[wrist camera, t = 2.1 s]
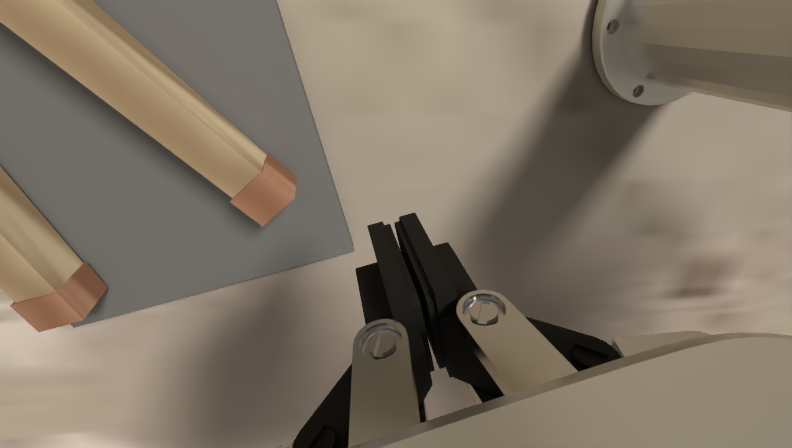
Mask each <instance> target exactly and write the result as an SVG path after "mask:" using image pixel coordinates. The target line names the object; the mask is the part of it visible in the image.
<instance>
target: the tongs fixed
mask: <svg viewBox="0 0 792 448" xmlns="http://www.w3.org/2000/svg"><path fill="white" fill-rule="evenodd" d="M0 288H1V289H2V290H3V291H4V292H5V293H6V294H7V295H8V296H9V297H10V298H11V299H12V300H14V301H15V302H14V303H13V304H11V305H10V306H11V307H12V308H13V309H14V310H15V311H16V312H17V313H18V314H20V315H21V316H22V317H23V318H24V319H25V320H26V321H27V322H28V323H29V324H30V325H32V326H33V327H34V328H35V329H36V330H37V331H38V332H41V331H45V330H49V329H52V328H56V327H60V326H63V325H67V324H71V323H75V322H78V321H82V320H84V319H85V317H86V316H87V315H88V313H89V312H90V311H91V309H92V308H93V307H94V305H95V304H96V303H97V301H98V300H99V299H100V298H101V296H102V295H103V294H104V292H105V291H106V290H107V288H108V287H107V286H106V285H105V284H104V282H103V281H102V280H101V279H100V278H99V277H98V275H97V274H96V273H95V272H94V271H93V269H92V268H91V267H90V266H89V265H88V264H87V262H85V263H83V262H82V261H81V260H80V258H79V257H78V256H77V255H76V254H75V253H74V251H73V250H72V249H71V248H70V247H69V246H68V244H67V243H66V242H65V241H64V240H63V239H62V237H61V236H60V235H59V234H58V233H57V232H56V230H55V229H54V228H53V227H52V226H51V225H50V223H49V222H48V221H47V220H46V219H45V218H44V216H43V215H42V214H41V213H40V212H39V211H38V209H37V208H36V207H35V206H34V205H33V204H32V202H31V201H30V200H29V199H28V198H27V197H26V195H25V194H24V193H23V192H22V191H21V190H20V188H19V187H18V186H17V185H16V184H15V183H14V181H13V180H12V179H11V178H10V177H9V176H8V174H7V173H6V172H5V171H4V170H3V169H2V167H1V166H0Z"/></svg>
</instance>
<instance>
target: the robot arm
mask: <svg viewBox="0 0 792 448" xmlns="http://www.w3.org/2000/svg"><path fill="white" fill-rule="evenodd" d="M592 50H593V57H594V61H595V66H596V69H597V72H598V74H599V76H600V78H601V80H602V82H603V83H604V84H605V86H606V87H607V88H608V89H609V91H610V92H612V93H613V94H615V95H616V96H618V97H619V98H621V99H624V100H627V101H629V102H632V103H637V104H642V105H661V104H664V103H668V102H672V101H675V100H677V99H680V98H682V97H684V96H686V95H689V94H690V93H692V92H697V93H702V94H707V95H712V96H716V97H721V98H726V99H731V100H736V101H740V102H745V103H750V104H755V105H759V106H764V107H769V108H774V109H779V110H783V111H788V112H792V0H599V1H598V4H597V8H596V11H595V16H594V24H593V31H592ZM399 219H400V221H398V222H395V228H396V233H397V237H398V241H399V246H400V248H399V246H398V243H397V241H396V238H395V236H394V233H393V231H392V228H391V225H390V224H387V225H384V224H383V222H379V223H375V224H372V225H368V230H369V233H370V237H371V241H372V244H373V248H374V251H375V255H376V259H377V262H376V263H373V264H370V265H366V266H363V267H359V268H356V275H357V280H358V285H359V291H360V296H361V302H362V307H363V312H364V318H365V323H366V325H365V326H364V327H363V328H362V329H361V330H360V331H359V332H358V334H357V335H356V337H355V339H354V344H353V358H352V364H351V365H350V367H349V368H348V369H347V371H346V372H345V373H344V375H343V376H342V377H341V378H340V380H339V381H338V382H337V384H336V385H335V386H334V388H333V389H332V390H331V391H330V393H329V394H328V395H327V397H326V398H325V399H324V401H323V402H322V403H321V404H320V406H319V407H318V408H317V410H316V411H315V412H314V414H313V415H312V416H311V417H310V419H309V420H308V421H307V423H306V424H305V425H304V427H303V428H302V429H301V431H300V432H299V434H298V435H297V437H296V439H295V440H294V443H293V444H291V445H289V446H287V447H286V448H792V336H789V335H781V334H771V333H729V334H717V335H710V334H707V333H703V332H700V331H682V332H671V333H661V334H650V335H640V336H629V337H619V338H613V341H612V342H611V343H606V342H605V341H603V340H600V339H598V338H596V337H593V336H589V335H586V334H583V333H579V332H576V331H572V330H569V329H566V328H562V327H559V326H555V325H552V324H549V323H545V322H542V321H538V320H535V319H532V318H528V317H525V316H524V315H523V314H522V313H521V312H520V311H519V310H518V309H517V308H516V307H515V306H514V305H513V304H512V303H511V302H510V301H509V300H508V299H507V298H506V297H504V296H503V295H502V294H500V293H498V292H495V291H491V290H477V288H476V287H475V285H474V283H473V282H472V280H471V278H470V277H469V275H468V274H467V272H466V270H465V269H464V267H463V266H462V264H461V262H460V261H459V259H458V257H457V256H456V254H455V253H454V251H453V249H452V248H451V246H450V245H449V243H447V242H446V243H443V244H439V245H436V246H433V245H432V243H431V241H430V239H429V238H428V236H427V234H426V232H425V230H424V228H423V227H422V225H421V223H420V221H419V219H418V217H417V215H416V214H415V213H411V214H408V215H404V216H401V217H399ZM400 250H401V251H400ZM428 339H429V342H430V345H431V347H432V350H433V353H434V355H435V358H436V361H437V364H438V366H439V368H440V369H441V368H444V367H446V369H447V371H448V374H449V377H453V376H454V378H456V379H459V380H461V381H463V382H466V385H467V387H468V390H469V392H470V393H471V395H472V397H473V398H474V400H475V401H476V403H477V405H475V406H472V407H469V408H465V409H462V410H459V411H456V412H453V413H450V414H447V415H444V416H441V417H438V418H435V419H432V420H429V421H428V419H427V412H426V405H425V401H424V399H425V397H426V395H427V393H428V392H429V390H430V388H431V386H432V379H431V375H430V372H431V371H434V366H433V361H432V356H431V352H430V347H429V342H428ZM277 448H282V446H281V445H280V446H279V447H277Z"/></svg>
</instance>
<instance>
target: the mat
mask: <svg viewBox="0 0 792 448" xmlns="http://www.w3.org/2000/svg"><path fill="white" fill-rule="evenodd" d="M92 1H93V2H94V3H96V4H97V5H98V6H99V7H100V8H101V9H102V10H103V11H105V12H106V13H107V14H108V15H109V16H110V17H111V18H113V19H114V20H115V21H116V22H117V23H118V24H119V25H120V26H122V27H123V28H124V29H125V30H126V31H127V32H128V33H130V34H131V35H132V36H133V37H134V38H135V39H136V40H137V41H139V42H140V43H141V44H142V45H143V46H144V47H145V48H147V49H148V50H149V51H150V52H151V53H152V54H153V55H154V56H156V57H157V58H158V59H159V60H160V61H161V62H162V63H164V64H165V65H166V66H167V67H168V68H169V69H170V70H171V71H173V72H174V73H175V74H176V75H177V76H178V77H179V78H181V79H182V80H183V81H184V82H185V83H186V84H187V85H188V86H190V87H191V88H192V89H193V90H194V91H195V92H196V93H198V94H199V95H200V96H201V97H202V98H203V99H204V100H205V101H207V102H208V103H209V104H210V105H211V106H212V107H213V108H215V109H216V110H217V111H218V112H219V113H220V114H221V115H222V116H224V117H225V118H226V119H227V120H228V121H229V122H230V123H232V124H233V125H234V126H235V127H236V128H237V129H238V130H239V131H241V132H242V133H243V134H244V135H245V136H246V137H247V138H249V139H250V140H251V141H252V142H253V143H254V144H255V145H256V146H258V147H259V148H260V149H261V150H262V151H263V152H264V153H266V154H268V153H270V154H271V155H272V156H273V157H274V158H276V159H277V160H278V161H279V162H280V163H281V164H282V165H283V166H285V167H286V168H287V169H288V170H289V171H290V172H291V173H292V174H294V175H295V176H296V177H297V182H296V191H295V198H294V199H293V200H292V201H291V202H290V203H289V204H288V205H287V206H285V207H284V208H283V209H282V210H281V211H280V212H279V213H278V214H276V215H275V216H274V217H273V218H272V219H271V220H270V221H269V222H267V223H266V224H265V225H264V226H261V225H260V224H259V223H257V222H256V221H255V220H253V219H252V218H251V217H249V216H248V215H246V214H245V213H244V212H242V211H241V210H240V209H238V208H237V207H236V206H234V205H233V204H232V203H230V201H231V198H232V197H230V196H229V195H228V194H226V193H225V192H224V191H222V190H221V189H220V188H218V187H217V186H216V185H215V184H213V183H212V182H211V181H209V180H208V179H207V178H205V177H204V176H203V175H201V174H200V173H199V172H197V171H196V170H195V169H193V168H192V167H191V166H190V165H188V164H187V163H186V162H184V161H183V160H182V159H180V158H179V157H178V156H176V155H175V154H174V153H172V152H171V151H170V150H168V149H167V148H166V147H164V146H163V145H162V144H161V143H159V142H158V141H157V140H155V139H154V138H153V137H151V136H150V135H149V134H147V133H146V132H145V131H143V130H142V129H141V128H139V127H138V126H137V125H135V124H134V123H133V122H132V121H130V120H129V119H128V118H126V117H125V116H124V115H122V114H121V113H120V112H118V111H117V110H116V109H114V108H113V107H112V106H110V105H109V104H108V103H106V102H105V101H104V100H103V99H101V98H100V97H99V96H97V95H96V94H95V93H93V92H92V91H91V90H89V89H88V88H87V87H85V86H84V85H83V84H81V83H80V82H79V81H77V80H76V79H75V78H74V77H72V76H71V75H70V74H68V73H67V72H66V71H64V70H63V69H62V68H60V67H59V66H58V65H56V64H55V63H54V62H52V61H51V60H50V59H49V58H47V57H46V56H45V55H43V54H42V53H41V52H39V51H38V50H37V49H35V48H34V47H33V46H31V45H30V44H29V43H27V42H26V41H25V40H23V39H22V38H21V37H20V36H18V35H17V34H16V33H14V32H13V31H12V30H10V29H9V28H8V27H6V26H5V25H4V24H2V23H1V22H0V166H1V167H2V169H3V170H4V171H5V172H6V173H7V174H8V176H9V177H10V178H11V179H12V180H13V181H14V183H15V184H16V185H17V186H18V187H19V188H20V190H21V191H22V192H23V193H24V194H25V195H26V197H27V198H28V199H29V200H30V201H31V202H32V204H33V205H34V206H35V207H36V208H37V209H38V211H39V212H40V213H41V214H42V215H43V216H44V218H45V219H46V220H47V221H48V222H49V223H50V225H51V226H52V227H53V228H54V229H55V230H56V232H57V233H58V234H59V235H60V236H61V237H62V239H63V240H64V241H65V242H66V243H67V244H68V246H69V247H70V248H71V249H72V250H73V251H74V253H75V254H76V255H77V256H78V257H79V258H80V260H81V261H82V262H83V263H85V262H87V264H88V265H89V266H90V267H91V268H92V269H93V271H94V272H95V273H96V274H97V275H98V277H99V278H100V279H101V280H102V281H103V282H104V284H105V285H106V286H107V287H108V288H107V290H106V291H105V292H104V294H103V295H102V296H101V298H100V299H99V300H98V301H97V303H96V304H95V305H94V307H93V308H92V309H91V311H90V312H89V313H88V315H87V316H86V317H85V319H84V320H82V321H78V322H75V323H71V325H72V326H73V327H78V326H81V325H85V324H89V323H92V322H96V321H100V320H103V319H107V318H111V317H114V316H118V315H122V314H125V313H129V312H133V311H136V310H140V309H144V308H147V307H151V306H155V305H158V304H162V303H166V302H170V301H173V300H177V299H181V298H184V297H188V296H192V295H195V294H199V293H203V292H206V291H210V290H214V289H217V288H221V287H225V286H228V285H232V284H236V283H239V282H243V281H247V280H250V279H254V278H258V277H261V276H265V275H269V274H272V273H276V272H280V271H283V270H287V269H291V268H294V267H298V266H302V265H305V264H309V263H313V262H316V261H320V260H324V259H327V258H331V257H335V256H338V255H342V254H346V253H350V252H353V251H354V246H353V242H352V239H351V236H350V233H349V229H348V226H347V223H346V220H345V217H344V214H343V210H342V207H341V204H340V201H339V198H338V195H337V191H336V188H335V185H334V182H333V179H332V175H331V172H330V169H329V166H328V163H327V160H326V156H325V153H324V150H323V147H322V144H321V141H320V137H319V134H318V131H317V128H316V125H315V121H314V118H313V115H312V112H311V109H310V106H309V102H308V99H307V96H306V93H305V90H304V87H303V83H302V80H301V77H300V74H299V71H298V67H297V64H296V61H295V58H294V55H293V52H292V48H291V45H290V42H289V39H288V36H287V33H286V29H285V26H284V23H283V20H282V17H281V14H280V10H279V7H278V4H277V1H276V0H92Z"/></svg>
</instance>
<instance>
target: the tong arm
mask: <svg viewBox="0 0 792 448" xmlns="http://www.w3.org/2000/svg"><path fill="white" fill-rule="evenodd" d="M0 22H1V23H2V24H4V25H5V26H6V27H8V28H9V29H10V30H12V31H13V32H14V33H16V34H17V35H18V36H20V37H21V38H22V39H23V40H25V41H26V42H27V43H29V44H30V45H31V46H33V47H34V48H35V49H37V50H38V51H39V52H41V53H42V54H43V55H45V56H46V57H47V58H49V59H50V60H51V61H52V62H54V63H55V64H56V65H58V66H59V67H60V68H62V69H63V70H64V71H66V72H67V73H68V74H70V75H71V76H72V77H74V78H75V79H76V80H77V81H79V82H80V83H81V84H83V85H84V86H85V87H87V88H88V89H89V90H91V91H92V92H93V93H95V94H96V95H97V96H99V97H100V98H101V99H103V100H104V101H105V102H106V103H108V104H109V105H110V106H112V107H113V108H114V109H116V110H117V111H118V112H120V113H121V114H122V115H124V116H125V117H126V118H128V119H129V120H130V121H132V122H133V123H134V124H135V125H137V126H138V127H139V128H141V129H142V130H143V131H145V132H146V133H147V134H149V135H150V136H151V137H153V138H154V139H155V140H157V141H158V142H159V143H161V144H162V145H163V146H164V147H166V148H167V149H168V150H170V151H171V152H172V153H174V154H175V155H176V156H178V157H179V158H180V159H182V160H183V161H184V162H186V163H187V164H188V165H190V166H191V167H192V168H193V169H195V170H196V171H197V172H199V173H200V174H201V175H203V176H204V177H205V178H207V179H208V180H209V181H211V182H212V183H213V184H215V185H216V186H217V187H218V188H220V189H221V190H222V191H224V192H225V193H226V194H228V195H229V196H230V197H232V198H231V201H230V203H232V204H233V205H234V206H236V207H237V208H238V209H240V210H241V211H242V212H244V213H245V214H246V215H248V216H249V217H251V218H252V219H253V220H255V221H256V222H257V223H259V224H260V225H261V226H264V225H265V224H266V223H267V222H269V221H270V220H271V219H272V218H273V217H274V216H275V215H276V214H278V213H279V212H280V211H281V210H282V209H283V208H284V207H285V206H287V205H288V204H289V203H290V202H291V201H292V200H293V199H294V198H295V191H296V182H297V177H296V176H295V175H294V174H292V173H291V172H290V171H289V170H288V169H287V168H286V167H285V166H283V165H282V164H281V163H280V162H279V161H278V160H277V159H276V158H274V157H273V156H272V155H271V154H270V153H268V154H266V153H264V152H263V151H262V150H261V149H260V148H259V147H258V146H256V145H255V144H254V143H253V142H252V141H251V140H250V139H249V138H247V137H246V136H245V135H244V134H243V133H242V132H241V131H239V130H238V129H237V128H236V127H235V126H234V125H233V124H232V123H230V122H229V121H228V120H227V119H226V118H225V117H224V116H222V115H221V114H220V113H219V112H218V111H217V110H216V109H215V108H213V107H212V106H211V105H210V104H209V103H208V102H207V101H205V100H204V99H203V98H202V97H201V96H200V95H199V94H198V93H196V92H195V91H194V90H193V89H192V88H191V87H190V86H188V85H187V84H186V83H185V82H184V81H183V80H182V79H181V78H179V77H178V76H177V75H176V74H175V73H174V72H173V71H171V70H170V69H169V68H168V67H167V66H166V65H165V64H164V63H162V62H161V61H160V60H159V59H158V58H157V57H156V56H154V55H153V54H152V53H151V52H150V51H149V50H148V49H147V48H145V47H144V46H143V45H142V44H141V43H140V42H139V41H137V40H136V39H135V38H134V37H133V36H132V35H131V34H130V33H128V32H127V31H126V30H125V29H124V28H123V27H122V26H120V25H119V24H118V23H117V22H116V21H115V20H114V19H113V18H111V17H110V16H109V15H108V14H107V13H106V12H105V11H103V10H102V9H101V8H100V7H99V6H98V5H97V4H96V3H94V2H93V1H92V0H0Z"/></svg>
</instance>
